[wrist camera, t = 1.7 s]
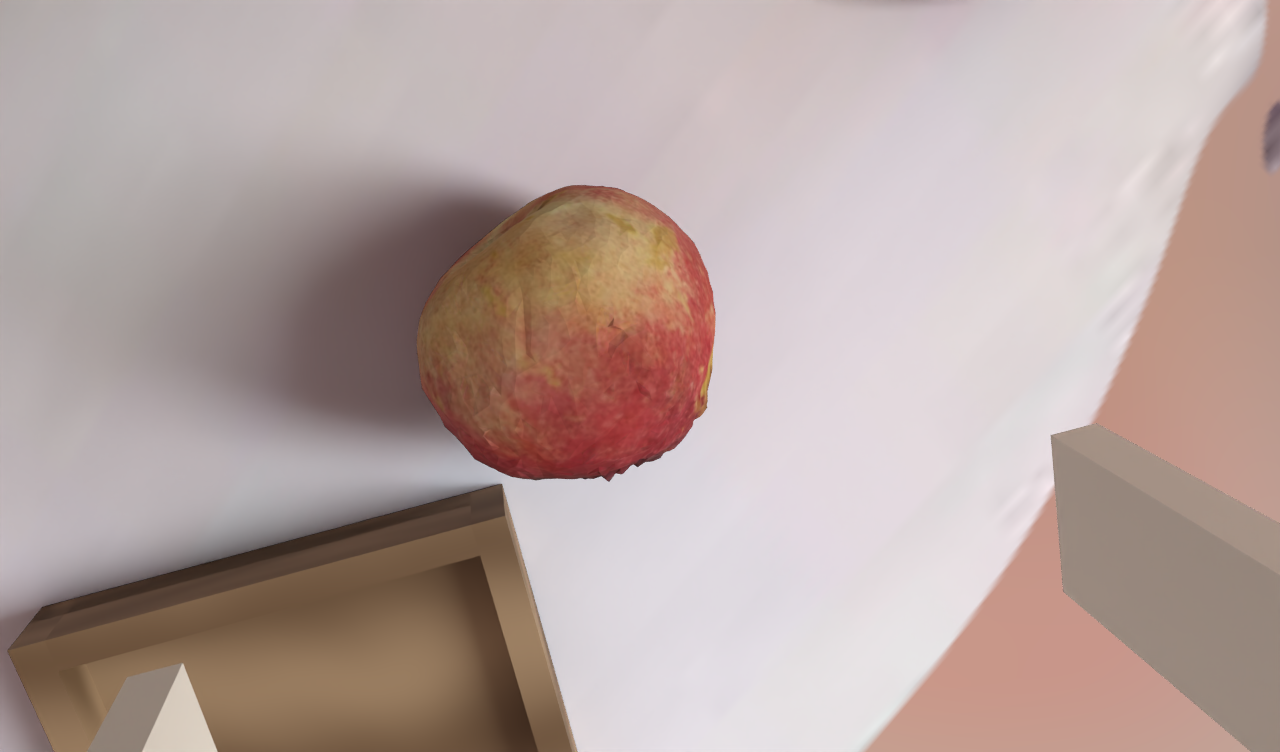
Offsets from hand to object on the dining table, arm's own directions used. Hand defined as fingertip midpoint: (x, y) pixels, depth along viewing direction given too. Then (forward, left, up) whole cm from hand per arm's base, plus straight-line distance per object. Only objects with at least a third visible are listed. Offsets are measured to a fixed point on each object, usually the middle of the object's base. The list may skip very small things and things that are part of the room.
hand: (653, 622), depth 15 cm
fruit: (-1, 0, -17) cm, 17 cm away
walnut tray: (+11, -10, -17) cm, 22 cm away
